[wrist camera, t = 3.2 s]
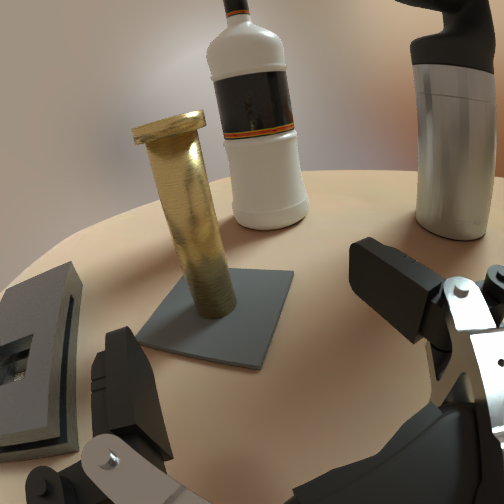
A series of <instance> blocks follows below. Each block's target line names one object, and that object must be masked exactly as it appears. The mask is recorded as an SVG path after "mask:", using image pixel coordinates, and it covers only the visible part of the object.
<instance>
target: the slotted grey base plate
mask: <svg viewBox="0 0 504 504" xmlns="http://www.w3.org/2000/svg"><path fill="white" fill-rule="evenodd" d="M82 286H83V284H82V282H81V280H80V278H79V276H78V274H77V272H76V270H75V268H74V266H73V264H72V262H71V261H70V262H67V263H65V264H63V265H60V266H58V267H55V268H53V269H51V270H48V271H46V272H44V273H42V274H39V275H37V276H35V277H33V278H30V279H28V280H26V281H24V282H21V283H19V284H17V285H15V286H13V287H11V288H8V289H6V291H5V293H4V295H3V297H2V299H1V302H0V462H10V461H21V460H29V459H37V458H44V457H50V456H56V455H62V454H67V453H73V452H78V451H79V445H78V434H77V419H76V349H77V333H78V321H79V311H80V302H81V294H82ZM24 370H26V373H25V378H24V379H21V380H18V381H15V382H14V377H15V373H18V372H21V371H24Z"/></svg>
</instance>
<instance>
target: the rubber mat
mask: <svg viewBox="0 0 504 504" xmlns="http://www.w3.org/2000/svg"><path fill="white" fill-rule="evenodd" d="M229 272H230V276H231V280H232V284H233V288H234V292H235V296H236V300H237V305H236V307H235V309H234V310H233V311H232V312H231V313H230V314H228V315H227V316H225V317H222V318H219V319H205V318H203V317H201V316H200V315H199V314H198V313H197V310H196V307H195V305H194V302H193V299H192V296H191V294H190V291H189V288H188V285H187V282H186V279H185V276H184V275H183V276H182V278H181V279H180V280H179V281H178V283H177V284H176V285H175V286H174V288H173V289H172V290H171V292H170V293H169V294H168V295H167V297H166V298H165V299H164V300H163V302H162V303H161V304H160V305H159V307H158V308H157V309H156V311H155V312H154V313H153V314H152V316H151V317H150V318H149V320H148V321H147V322H146V323H145V325H144V326H143V327H142V329H141V330H140V331H139V333H138V334H137V335H136V337H135V338H136V340H137V342H138V343H139V344H140V345H143V346H147V347H151V348H155V349H159V350H163V351H167V352H171V353H175V354H179V355H184V356H188V357H193V358H197V359H202V360H207V361H212V362H217V363H222V364H228V365H233V366H239V367H245V368H251V369H258V370H261V367H262V364H263V362H264V359H265V356H266V353H267V351H268V348H269V345H270V343H271V340H272V337H273V334H274V331H275V329H276V326H277V323H278V320H279V317H280V314H281V311H282V309H283V306H284V303H285V300H286V297H287V294H288V291H289V288H290V285H291V282H292V279H293V276H294V271H283V270H259V269H237V268H229Z"/></svg>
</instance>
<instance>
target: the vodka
mask: <svg viewBox="0 0 504 504" xmlns="http://www.w3.org/2000/svg"><path fill="white" fill-rule="evenodd" d="M223 2H224V7H225V12H226V17H227V24H228V28H227V29H226V30H224V31H223V32H222V33H221V34H220V35H219V36H218V37H216V38H215V39H214V40H213V41H212V42H211V43H210V45H209V47H208V49H207V56H206V57H207V62H208V65H209V68H210V71H211V75H212V76H211V80H212V81H213V82H214V88H215V93H216V99H217V104H218V109H219V114H220V119H221V124H222V129H223V135H224V139H225V141H224V144H223V145H224V146H225V149H226V153H227V157H228V161H229V167H230V175H231V184H232V194H233V202H232V208H233V214H234V217H235V219H236V220H237V222H238V223H239V224H240V225H242V226H244V227H247V228H250V229H255V230H274V229H280V228H284V227H287V226H290V225H292V224H294V223H296V222H298V221H299V220H301V219H302V218H303V217H304V216H305V215H306V214H307V212H308V209H309V198H308V193H307V191H306V189H305V186H304V182H303V178H302V174H301V170H300V163H299V156H298V146H297V135H298V134H297V132H296V131H295V130H294V122H293V115H292V109H291V101H290V95H289V89H288V83H287V76H286V69H287V65H285V57H284V46H283V43H282V42H281V40H280V38H279V37H278V36H277V35H276V34H275V33H273V32H271V31H268V30H266V29H264V28H261V27H259V26H257V25H254V24H252V22H251V17H250V13H249V8H248V4H247V0H223Z"/></svg>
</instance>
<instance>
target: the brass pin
mask: <svg viewBox="0 0 504 504" xmlns="http://www.w3.org/2000/svg"><path fill="white" fill-rule="evenodd" d="M204 126H206V121H205V116H204V111H203V110H198V111H193V112H189V113H185V114H180V115H176V116H172V117H169V118H165V119H161V120H158V121H154V122H151V123H147V124H144V125H141V126H138V127H135V128H132V129H131V130H132V134H133V138H134V142H135V145H139V144H144V143H145V145H146V149H147V153H148V157H149V161H150V165H151V168H152V172H153V176H154V179H155V183H156V187H157V190H158V194H159V197H160V201H161V204H162V208H163V211H164V214H165V218H166V221H167V224H168V227H169V231H170V234H171V237H172V240H173V243H174V246H175V250H176V253H177V256H178V259H179V262H180V265H181V268H182V271H183V274H184V276H185V279H186V282H187V285H188V288H189V291H190V294H191V296H192V299H193V302H194V305H195V307H196V310H197V313H198V314H199V315H200V316H201V317H203V318H205V319H219V318H222V317H225V316H227V315H228V314H230V313H231V312H232V311H233V310H234V309H235V307H236V305H237V300H236V296H235V292H234V288H233V284H232V280H231V276H230V272H229V268H228V263H227V259H226V255H225V251H224V247H223V243H222V239H221V234H220V230H219V226H218V222H217V217H216V213H215V209H214V205H213V200H212V196H211V191H210V187H209V183H208V178H207V174H206V169H205V165H204V160H203V156H202V151H201V146H200V142H199V137H198V132H197V129H199V128H202V127H204Z"/></svg>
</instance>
